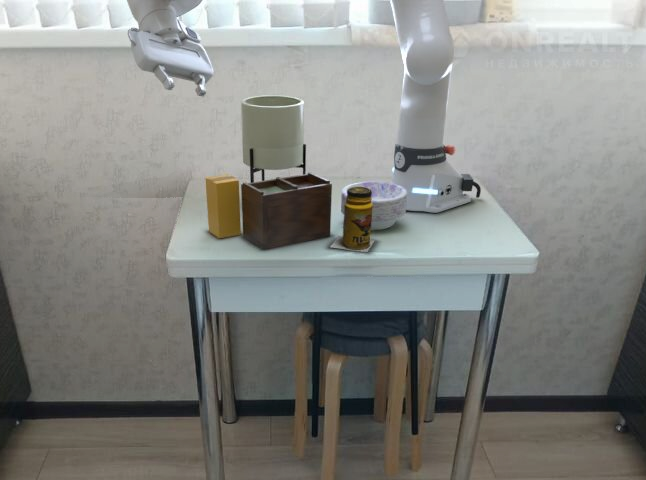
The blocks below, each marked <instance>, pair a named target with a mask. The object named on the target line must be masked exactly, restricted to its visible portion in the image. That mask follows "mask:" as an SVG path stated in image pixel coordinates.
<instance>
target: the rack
mask: <svg viewBox="0 0 646 480" xmlns="http://www.w3.org/2000/svg"><path fill="white" fill-rule="evenodd" d="M240 192H241V193H240V194H241V218H242V219H241V220H242V237H243V238H244V239H246V240H247V241H248V242H251V243H252V244H254V245H255V246H257V247H258V248H260V249H261V250H269V249H274V248H279V247H283V246H289V245H292V244H299V243H303V242H309V241H312V240H316V239H323V238H327V237H331V223H332V221H331V220H332V196H333V193H332V192H333V184H332V183H331V180H329V179H328V178H325V177H323V176H320V175H318V174H316V173H313V172H311V171H310V172H307V173H306V174H303V173H302V174H297V175H291V176H285V177H279V176H277V177H275V178H272V179H266V180H265V181H262V180H260V181H254V182H252V183H251V182H242V183H241V184H240Z"/></svg>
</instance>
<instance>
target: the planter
mask: <svg viewBox="0 0 646 480" xmlns="http://www.w3.org/2000/svg"><path fill="white" fill-rule="evenodd" d="M240 112H241V116H240V117H241V140H242V141H241V142H242V144H241V145H242V162H243V164H244V165H245V166H248V167H249V177H250V179H249V180H250V183H252V182H255V173H258V172H261V181H265V178H266V177H265V171H266V170H268V171H279V170H280V171H281V170H288V169H293V168H295V169H296V168H298V169H302V175H303V174H307V172H306V171H307V170H306V169H307V144H306V143H305V142H304V141H305V101H304V100H303V99H302V98H299V97H297V96H296V97H295V96H290V95H281V94H280V95H279V94H277V95H276V94H274V95H273V94H268V95H267V94H265V95H254V96H248V97H245V98H243V99H241V101H240Z"/></svg>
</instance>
